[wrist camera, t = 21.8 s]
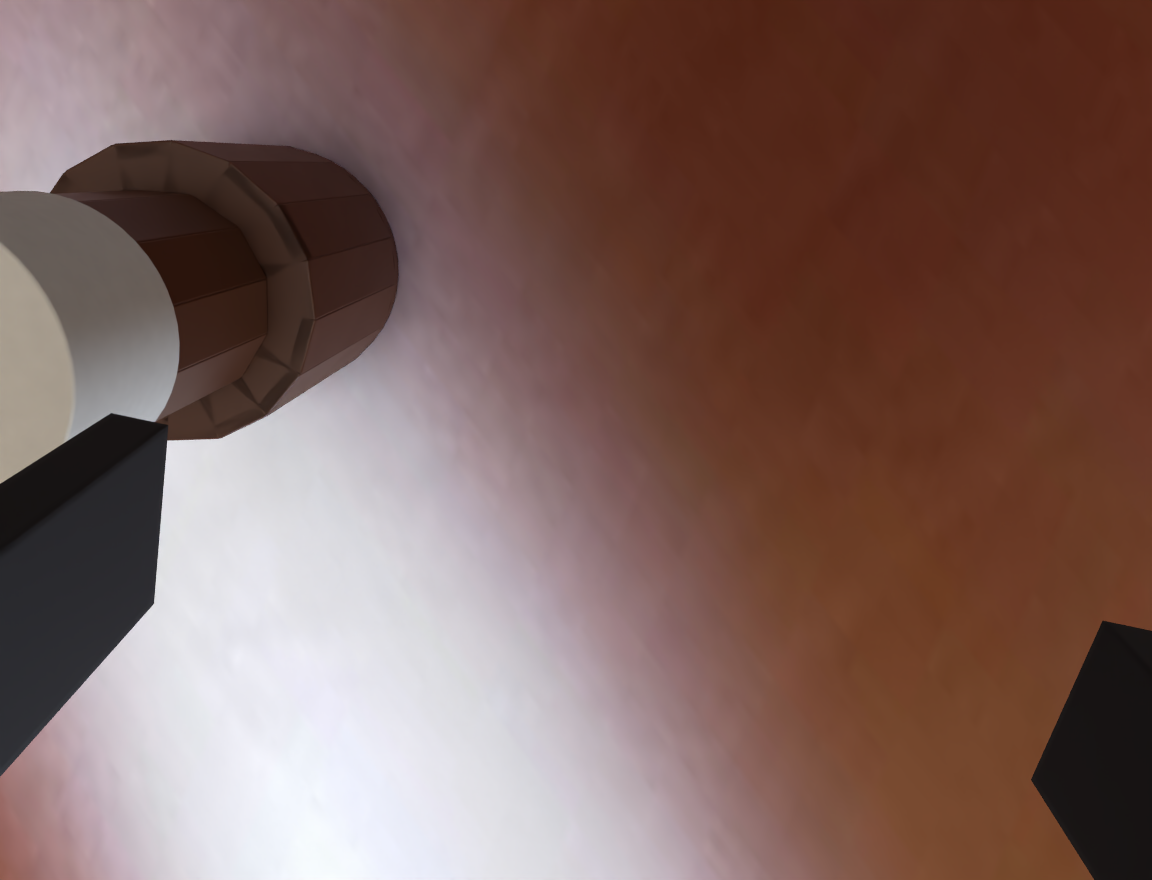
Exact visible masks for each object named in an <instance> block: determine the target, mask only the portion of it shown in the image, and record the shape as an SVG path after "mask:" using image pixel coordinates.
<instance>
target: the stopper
mask: <svg viewBox="0 0 1152 880" xmlns="http://www.w3.org/2000/svg"><path fill="white" fill-rule="evenodd" d="M179 344H180V342H179V332H178V324H177V320H176V315H175V311H174V307H173V304H172V301H171V298H170V296H169V293H168V290H167V288H166V286H165V284H164V282H163V280H162V278H161V276H160V274H159V272H158V271H157V269H156V268H155V266H154V265H153V263H152V261H151V260H150V258H149V257H148V256H147V254H146V253H145V252H144V251H143V250H142V248H141V247H140V246H139V245H138V244H137V242H136V241H135V240H134V239H133V238H132V237H130V236H129V235H128V234H127V233H126V232H125V231H124V230H123V229H122V228H121V227H120V226H118V225H117V224H116V223H114V222H113V221H112V220H110V219H109V218H108V217H106V216H105V215H103V214H101V213H100V212H98V211H96V210H94V209H93V208H91V207H89V206H87V205H85V204H82V203H80V202H78V201H75V200H73V199H70V198H66V197H63V196H60V195H56V194H51V193H44V192H38V191H11V192H0V484H1V483H2V482H4V481H5V480H7V479H8V478H10V477H12V476H13V475H15V474H16V473H18V472H19V471H21V470H23V469H24V468H26V467H27V466H29V465H30V464H32V463H34V462H35V461H37V460H38V459H40V458H41V457H43V456H45V455H46V454H48V453H49V452H51V451H52V450H54V449H55V448H57V447H59V446H60V445H62V444H63V443H65V442H66V441H68V440H70V439H71V438H73V437H74V436H76V435H77V434H79V433H81V432H82V431H84V430H85V429H87V428H88V427H90V426H92V425H93V424H95V423H96V422H98V421H99V420H101V419H103V418H104V417H106V416H107V415H109V414H110V413H113V414H118V415H123V416H128V417H132V418H137V419H142V420H147V421H151V422H155V421H156V420H157V418H158V417H159V415H160V414H161V412H162V411H163V409H164V408H165V406H166V403H167V401H168V399H169V397H170V395H171V393H172V389H173V386H174V383H175V380H176V376H177V370H178V364H179Z"/></svg>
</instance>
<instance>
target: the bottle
mask: <svg viewBox="0 0 1152 880" xmlns="http://www.w3.org/2000/svg"><path fill="white" fill-rule="evenodd" d="M50 193H51V194H56V195H60V196H63V197H66V198H70V199H73V200H75V201H78V202H80V203H82V204H85V205H87V206H89V207H91V208H93V209H94V210H96V211H98V212H100V213H101V214H103V215H105V216H106V217H108V218H109V219H110V220H112V221H113V222H114V223H116V224H117V225H118V226H120V227H121V228H122V229H123V230H124V231H125V232H126V233H127V234H128V235H129V236H130V237H132V238H133V239H134V240H135V241H136V242H137V244H138V245H139V246H140V247H141V248H142V250H143V251H144V252H145V253H146V254H147V256H148V257H149V258H150V260H151V261H152V263H153V265H154V266H155V268H156V269H157V271H158V272H159V274H160V276H161V278H162V280H163V282H164V284H165V286H166V288H167V290H168V293H169V296H170V298H171V301H172V304H173V307H174V311H175V315H176V320H177V324H178V332H179V342H180V344H179V364H178V370H177V376H176V380H175V383H174V386H173V389H172V393H171V395H170V397H169V399H168V401H167V403H166V406H165V408H164V409H163V411H162V412H161V414H160V415H159V417H158V418H157V420H156V421H155V422H156V423H161V424H166V425H168V436H167V440H196V439H219V438H223V437H225V436H227V435H229V434H231V433H233V432H235V431H237V430H239V429H241V428H243V427H246V426H248V425H250V424H252V423H254V422H256V421H258V420H260V419H262V418H264V417H266V416H268V415H269V414H271V413H273V412H274V411H276V410H277V409H279V408H280V407H282V406H283V405H285V404H287V403H288V402H290V401H291V400H293V399H294V398H296V397H297V396H299V395H301V394H302V393H304V392H305V391H307V390H308V389H310V388H311V387H313V386H315V385H316V384H318V383H319V382H321V381H322V380H324V379H325V378H327V377H329V376H330V375H332V374H333V373H335V372H336V371H338V370H339V369H341V368H343V367H344V366H346V365H347V364H349V363H350V362H352V361H353V360H355V359H356V358H357V357H358V356H359V355H360V354H361V353H362V351H364V350H365V349H366V348H367V347H368V346H369V345H370V344H371V343H372V342H373V341H374V339H375V338H376V337H377V335H378V334H379V333H380V331H381V330H382V328H383V326H384V325H385V323H386V321H387V319H388V317H389V315H390V312H391V309H392V306H393V304H394V300H395V295H396V291H397V283H398V258H397V252H396V246H395V242H394V239H393V235H392V232H391V229H390V227H389V224H388V222H387V220H386V218H385V215H384V214H383V212H382V210H381V208H380V207H379V205H378V203H377V202H376V200H375V199H374V198H373V196H372V195H371V194H370V193H369V191H368V190H367V189H366V188H365V187H364V186H363V185H362V184H361V183H360V182H359V181H358V180H357V179H356V178H355V177H354V176H353V175H351V174H350V173H349V172H348V171H346V170H345V169H344V168H342V167H340V166H339V165H337V164H335V163H334V162H332V161H331V160H328V159H326V158H324V157H321V156H319V155H317V154H314V153H310V152H307V151H303V150H298V149H296V148H293V147H290V146H275V145H255V144H235V143H215V142H195V141H175V140H167V141H151V142H135V143H120V144H114V145H111V146H109V147H107V148H106V149H104V150H102V151H100V152H98V153H97V154H95V155H93V156H91V157H90V158H88V159H86V160H84V161H83V162H81V163H79V164H77V165H75V166H74V167H72V168H70V169H68V170H67V171H66V172H65V173H63V175H62V176H61V178H60V179H59V180H58V182H57V183H56V185H55V186H54V188H53V189H52V191H51V192H50Z"/></svg>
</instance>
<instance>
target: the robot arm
mask: <svg viewBox="0 0 1152 880" xmlns="http://www.w3.org/2000/svg"><path fill="white" fill-rule="evenodd" d="M167 436H168V425H166V424H161V423H156V422H151V421H147V420H142V419H137V418H132V417H128V416H123V415H118V414H113V413H110V414H109V415H107V416H106V417H104V418H103V419H101V420H99V421H98V422H96V423H95V424H93V425H92V426H90V427H88V428H87V429H85V430H84V431H82V432H81V433H79V434H77V435H76V436H74V437H73V438H71V439H70V440H68V441H66V442H65V443H63V444H62V445H60V446H59V447H57V448H55V449H54V450H52V451H51V452H49V453H48V454H46V455H45V456H43V457H41V458H40V459H38V460H37V461H35V462H34V463H32V464H30V465H29V466H27V467H26V468H24V469H23V470H21V471H19V472H18V473H16V474H15V475H13V476H12V477H10V478H8V479H7V480H5V481H4V482H2V483H1V484H0V776H1V775H2V774H3V773H4V772H5V771H6V770H7V768H8V767H9V766H10V765H11V764H12V763H13V762H14V761H15V759H16V758H17V757H18V756H19V755H20V754H21V753H22V752H23V750H24V749H25V748H26V747H27V746H28V745H29V744H30V743H31V741H32V740H33V739H34V738H35V737H36V736H37V735H38V734H39V732H40V731H41V730H42V729H43V728H44V727H45V726H46V725H47V723H48V722H49V721H50V720H51V719H52V718H53V717H54V716H55V714H56V713H57V712H58V711H59V710H60V709H61V708H62V707H63V705H64V704H65V703H66V702H67V701H68V700H69V699H70V698H71V696H72V695H73V694H74V693H75V692H76V691H77V690H78V689H79V687H80V686H81V685H82V684H83V683H84V682H85V681H86V680H87V678H88V677H89V676H90V675H91V674H92V673H93V672H94V671H95V669H96V668H97V667H98V666H99V665H100V664H101V663H102V662H103V660H104V659H105V658H106V657H107V656H108V655H109V654H110V653H111V651H112V650H113V649H114V648H115V647H116V646H117V645H118V644H119V642H120V641H121V640H122V639H123V638H124V637H125V636H126V635H127V633H128V632H129V631H130V630H131V629H132V628H133V627H134V626H135V624H136V623H137V622H138V621H139V620H140V619H141V618H142V617H143V615H144V614H145V613H146V612H147V611H148V610H149V609H150V608H151V606H152V605H153V604H154V595H155V583H156V571H157V558H158V546H159V534H160V522H161V509H162V497H163V485H164V473H165V460H166V448H167ZM1031 780H1032V782H1033V784H1034V785H1035V787H1036V788H1037V790H1038V791H1039V793H1040V795H1041V796H1042V798H1043V799H1044V801H1045V803H1046V804H1047V806H1048V807H1049V809H1050V810H1051V812H1052V814H1053V815H1054V817H1055V818H1056V820H1057V821H1058V823H1059V825H1060V826H1061V828H1062V829H1063V831H1064V833H1065V834H1066V836H1067V837H1068V839H1069V840H1070V842H1071V844H1072V845H1073V847H1074V848H1075V850H1076V851H1077V853H1078V855H1079V856H1080V858H1081V859H1082V861H1083V863H1084V864H1085V866H1086V867H1087V869H1088V870H1089V872H1090V874H1091V875H1092V877H1093V878H1094V880H1152V631H1149V630H1145V629H1140V628H1135V627H1130V626H1126V625H1121V624H1116V623H1111V622H1106V621H1102V624H1101V626H1100V628H1099V630H1098V632H1097V635H1096V637H1095V639H1094V641H1093V644H1092V646H1091V648H1090V650H1089V652H1088V655H1087V657H1086V659H1085V661H1084V663H1083V666H1082V668H1081V670H1080V672H1079V675H1078V677H1077V679H1076V681H1075V683H1074V686H1073V688H1072V690H1071V692H1070V695H1069V697H1068V699H1067V701H1066V703H1065V706H1064V708H1063V710H1062V712H1061V714H1060V717H1059V719H1058V721H1057V723H1056V726H1055V728H1054V730H1053V732H1052V734H1051V737H1050V739H1049V741H1048V743H1047V745H1046V748H1045V750H1044V752H1043V754H1042V757H1041V759H1040V761H1039V763H1038V765H1037V768H1036V770H1035V772H1034V774H1033V777H1032V779H1031Z"/></svg>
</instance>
